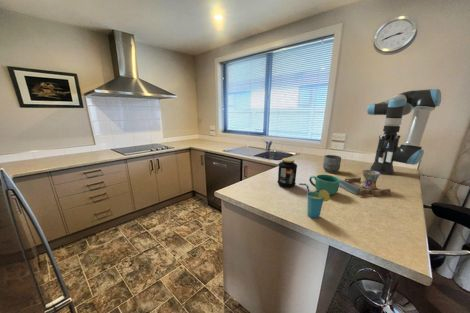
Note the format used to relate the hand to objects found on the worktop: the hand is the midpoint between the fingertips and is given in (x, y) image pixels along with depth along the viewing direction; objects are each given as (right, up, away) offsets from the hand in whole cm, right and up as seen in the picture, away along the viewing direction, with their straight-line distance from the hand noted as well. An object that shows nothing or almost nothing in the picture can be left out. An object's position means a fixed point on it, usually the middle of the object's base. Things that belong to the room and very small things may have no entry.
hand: (384, 162), depth 116 cm
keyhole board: (-16, -17, +1) cm, 23 cm away
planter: (-16, -9, +34) cm, 39 cm away
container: (-61, -16, +6) cm, 63 cm away
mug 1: (-41, -18, -4) cm, 45 cm away
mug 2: (-9, -16, +2) cm, 19 cm away
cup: (-59, -24, -29) cm, 70 cm away
